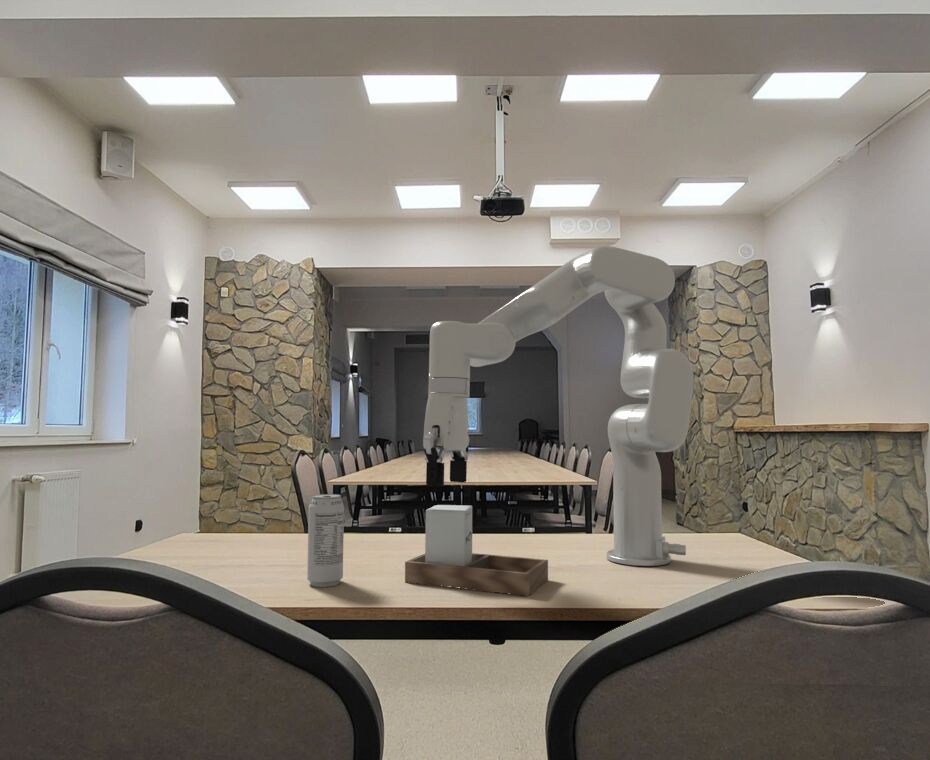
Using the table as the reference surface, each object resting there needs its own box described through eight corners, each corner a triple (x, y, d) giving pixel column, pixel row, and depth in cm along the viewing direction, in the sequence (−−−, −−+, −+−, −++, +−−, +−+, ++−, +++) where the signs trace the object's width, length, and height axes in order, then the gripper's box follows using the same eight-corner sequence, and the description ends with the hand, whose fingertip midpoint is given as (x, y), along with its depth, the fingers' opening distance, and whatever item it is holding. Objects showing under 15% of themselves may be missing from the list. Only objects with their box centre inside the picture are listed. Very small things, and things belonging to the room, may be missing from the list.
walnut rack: (548, 580, 110) (547, 559, 110) (528, 596, 99) (527, 574, 100) (434, 568, 119) (434, 549, 119) (404, 582, 108) (405, 561, 109)
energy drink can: (339, 577, 111) (341, 493, 112) (345, 586, 106) (346, 496, 107) (305, 580, 109) (307, 494, 110) (309, 589, 104) (310, 498, 105)
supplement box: (465, 584, 107) (465, 510, 108) (423, 582, 108) (424, 509, 109) (473, 574, 114) (473, 504, 115) (434, 572, 116) (434, 503, 117)
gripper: (450, 392, 123) (448, 479, 122) (408, 386, 107) (405, 486, 106) (485, 392, 120) (483, 481, 119) (447, 385, 104) (445, 488, 103)
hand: (446, 483), depth 112 cm, fingers open, 9 cm apart
